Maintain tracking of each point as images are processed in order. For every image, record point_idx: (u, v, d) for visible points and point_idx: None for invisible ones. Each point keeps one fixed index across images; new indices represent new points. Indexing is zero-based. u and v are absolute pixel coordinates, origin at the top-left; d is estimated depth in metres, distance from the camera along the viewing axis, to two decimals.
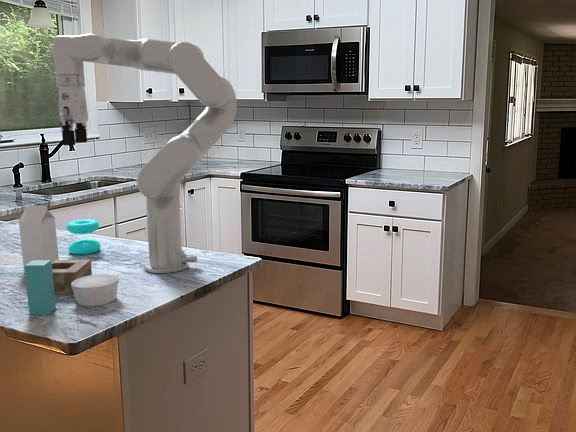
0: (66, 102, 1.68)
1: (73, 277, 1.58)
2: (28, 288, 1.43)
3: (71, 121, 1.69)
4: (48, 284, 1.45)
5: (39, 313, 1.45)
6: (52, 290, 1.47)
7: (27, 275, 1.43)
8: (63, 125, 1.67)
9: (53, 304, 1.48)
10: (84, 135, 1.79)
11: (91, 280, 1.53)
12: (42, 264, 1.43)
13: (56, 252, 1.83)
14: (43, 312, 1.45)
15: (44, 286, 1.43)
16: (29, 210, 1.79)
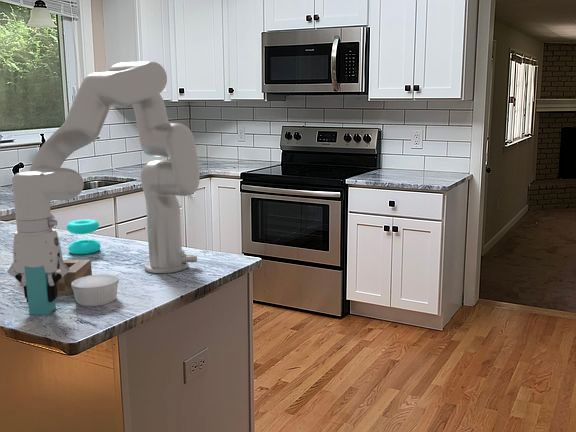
0: (58, 248, 1.44)
1: (73, 277, 1.58)
2: (28, 287, 1.43)
3: (55, 272, 1.46)
4: (48, 284, 1.45)
5: (39, 313, 1.45)
6: None
7: (27, 275, 1.43)
8: None
9: (53, 304, 1.48)
10: None
11: (91, 280, 1.53)
12: None
13: None
14: (43, 312, 1.44)
15: (44, 286, 1.43)
16: None
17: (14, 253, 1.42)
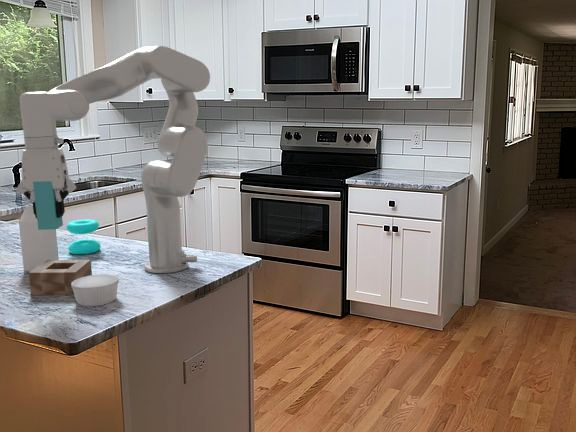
0: (64, 165, 1.51)
1: (73, 277, 1.58)
2: (37, 203, 1.51)
3: (62, 189, 1.54)
4: None
5: (48, 228, 1.52)
6: None
7: (36, 191, 1.50)
8: None
9: (60, 221, 1.55)
10: None
11: (91, 280, 1.53)
12: None
13: (56, 252, 1.83)
14: (51, 227, 1.52)
15: (52, 201, 1.51)
16: (29, 210, 1.79)
17: (23, 170, 1.49)
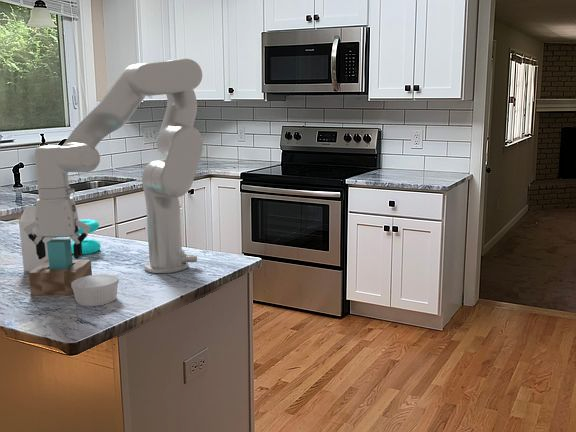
0: (75, 214, 1.61)
1: (73, 277, 1.58)
2: (50, 262, 1.61)
3: (77, 232, 1.63)
4: (68, 259, 1.62)
5: None
6: (71, 265, 1.65)
7: (50, 251, 1.60)
8: (84, 237, 1.61)
9: None
10: (44, 249, 1.64)
11: (91, 280, 1.53)
12: (62, 241, 1.60)
13: None
14: None
15: (64, 261, 1.61)
16: (29, 210, 1.79)
17: (36, 218, 1.59)
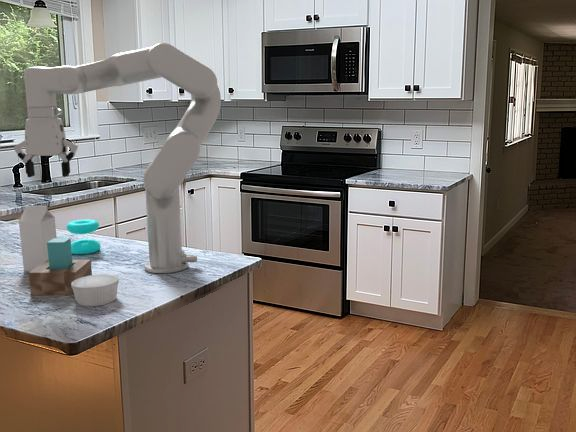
0: (63, 133, 1.69)
1: (73, 277, 1.58)
2: (50, 262, 1.61)
3: (64, 152, 1.70)
4: (68, 259, 1.62)
5: None
6: (71, 265, 1.65)
7: (50, 251, 1.60)
8: (72, 156, 1.69)
9: None
10: (33, 168, 1.72)
11: (91, 280, 1.53)
12: (62, 241, 1.60)
13: None
14: None
15: (64, 261, 1.61)
16: (29, 210, 1.79)
17: (25, 137, 1.67)
